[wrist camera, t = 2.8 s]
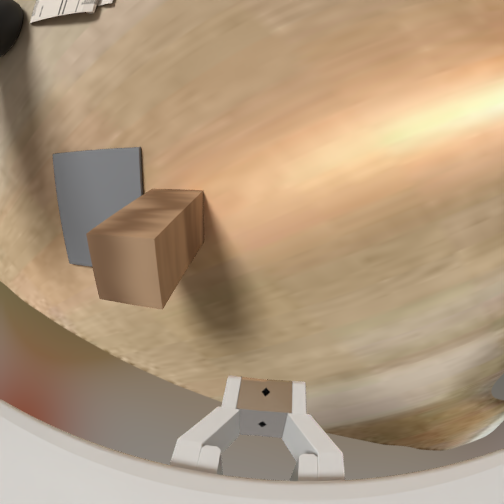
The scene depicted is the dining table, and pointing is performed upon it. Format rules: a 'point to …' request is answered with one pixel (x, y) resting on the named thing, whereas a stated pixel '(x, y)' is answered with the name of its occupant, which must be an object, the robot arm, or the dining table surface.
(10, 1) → the cola bottle
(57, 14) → the newspaper
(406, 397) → the dining table surface
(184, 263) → the walnut block
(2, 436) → the robot arm
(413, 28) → the dining table surface
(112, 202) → the panel
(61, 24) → the dining table surface
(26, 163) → the dining table surface
